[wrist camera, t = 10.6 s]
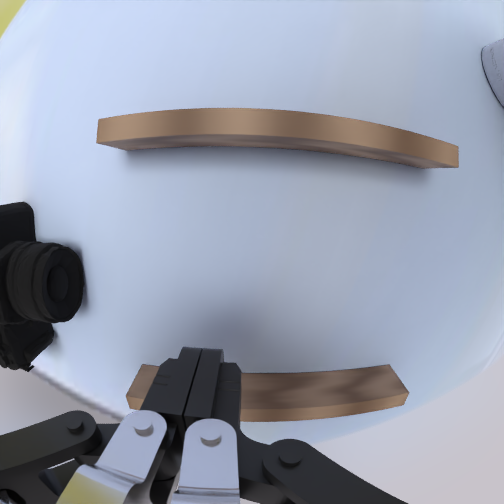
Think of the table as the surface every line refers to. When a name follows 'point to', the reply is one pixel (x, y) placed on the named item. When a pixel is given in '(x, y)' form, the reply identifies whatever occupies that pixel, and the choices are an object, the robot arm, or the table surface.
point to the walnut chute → (300, 138)
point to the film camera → (32, 287)
